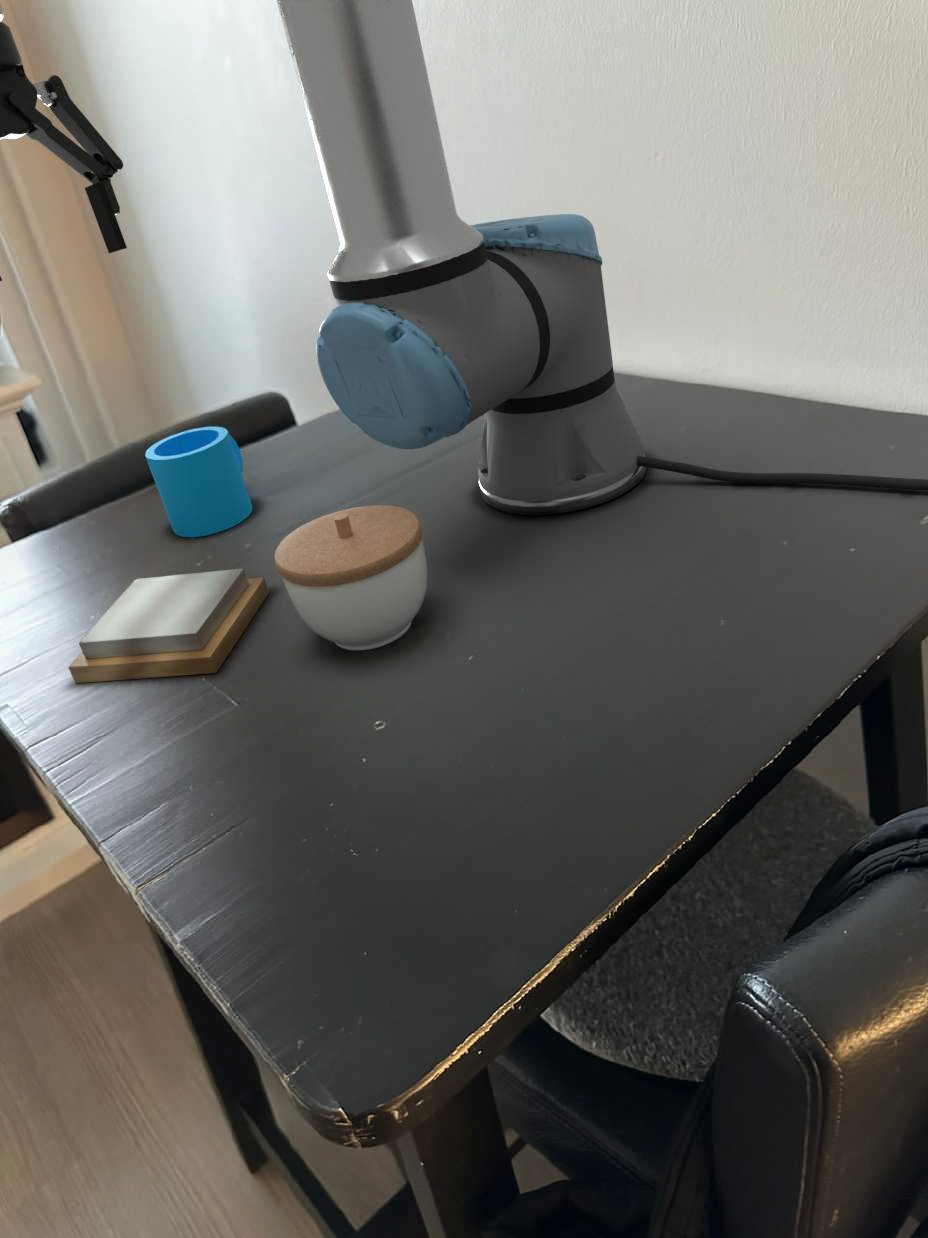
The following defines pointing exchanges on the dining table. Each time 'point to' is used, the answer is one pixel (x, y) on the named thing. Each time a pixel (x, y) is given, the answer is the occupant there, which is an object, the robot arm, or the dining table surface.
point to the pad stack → (170, 627)
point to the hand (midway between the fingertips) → (58, 266)
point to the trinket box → (356, 574)
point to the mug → (200, 481)
